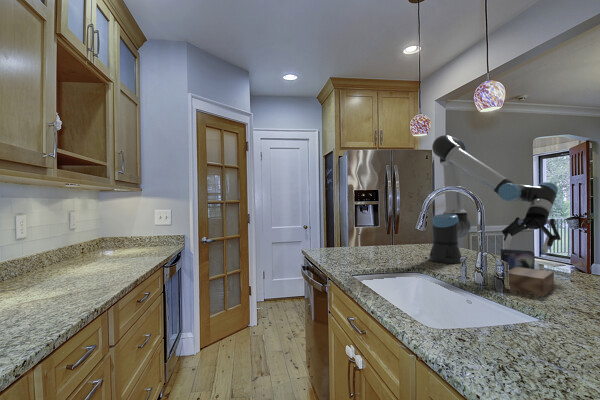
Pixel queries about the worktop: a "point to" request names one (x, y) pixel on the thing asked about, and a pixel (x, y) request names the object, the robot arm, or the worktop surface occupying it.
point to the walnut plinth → (531, 280)
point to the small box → (518, 258)
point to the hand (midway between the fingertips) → (523, 249)
